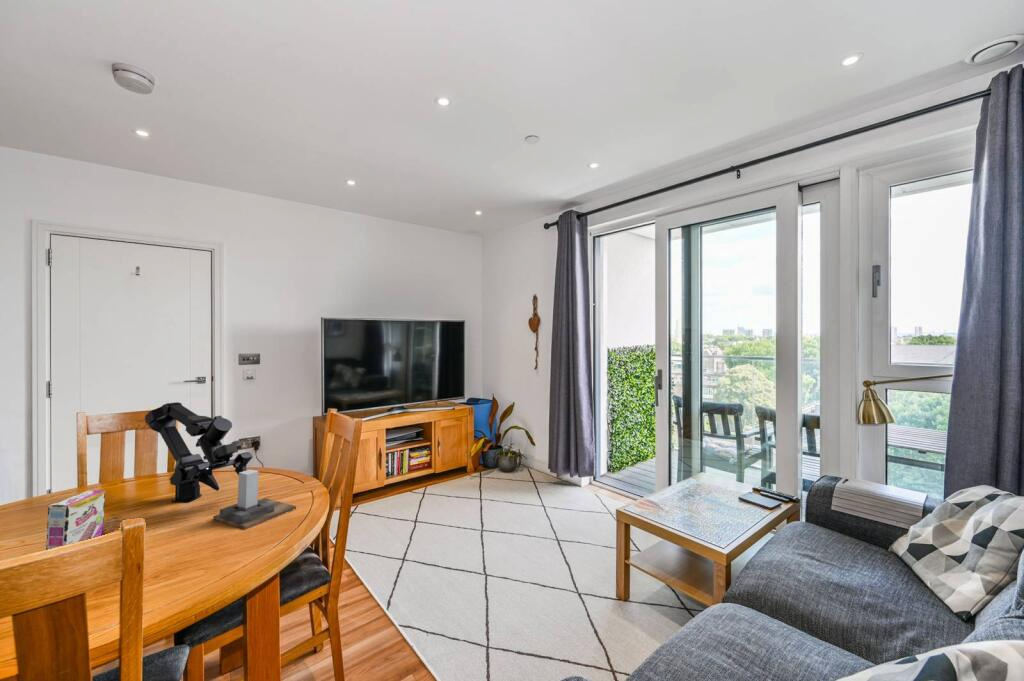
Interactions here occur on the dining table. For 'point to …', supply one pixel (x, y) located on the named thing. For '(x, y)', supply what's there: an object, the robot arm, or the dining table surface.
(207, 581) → the dining table surface
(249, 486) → the white block
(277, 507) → the grey square socket base
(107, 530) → the pastry
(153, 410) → the robot arm
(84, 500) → the candy bar box
